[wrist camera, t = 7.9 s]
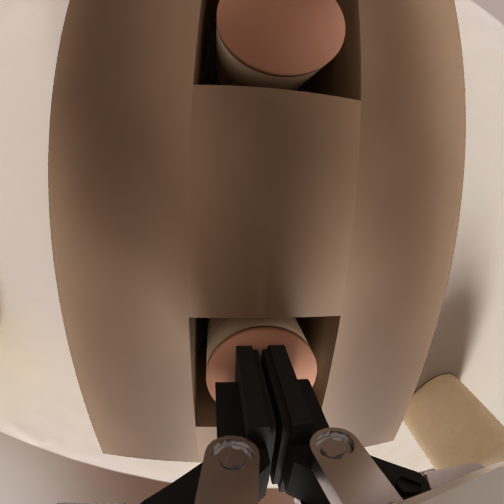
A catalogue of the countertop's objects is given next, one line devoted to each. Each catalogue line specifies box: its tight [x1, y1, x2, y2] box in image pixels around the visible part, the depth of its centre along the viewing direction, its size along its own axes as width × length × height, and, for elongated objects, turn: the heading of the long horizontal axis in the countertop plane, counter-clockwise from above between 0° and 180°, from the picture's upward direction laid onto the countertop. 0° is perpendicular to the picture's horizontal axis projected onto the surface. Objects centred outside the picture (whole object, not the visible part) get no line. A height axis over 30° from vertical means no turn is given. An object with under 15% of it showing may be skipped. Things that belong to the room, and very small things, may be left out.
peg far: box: [206, 317, 317, 401], centre depth 14 cm, size 4×4×6 cm
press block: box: [48, 0, 466, 462], centre depth 12 cm, size 14×22×6 cm, turn 177°
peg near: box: [216, 0, 345, 91], centre depth 10 cm, size 4×4×6 cm
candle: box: [403, 374, 504, 470], centre depth 16 cm, size 6×6×10 cm
